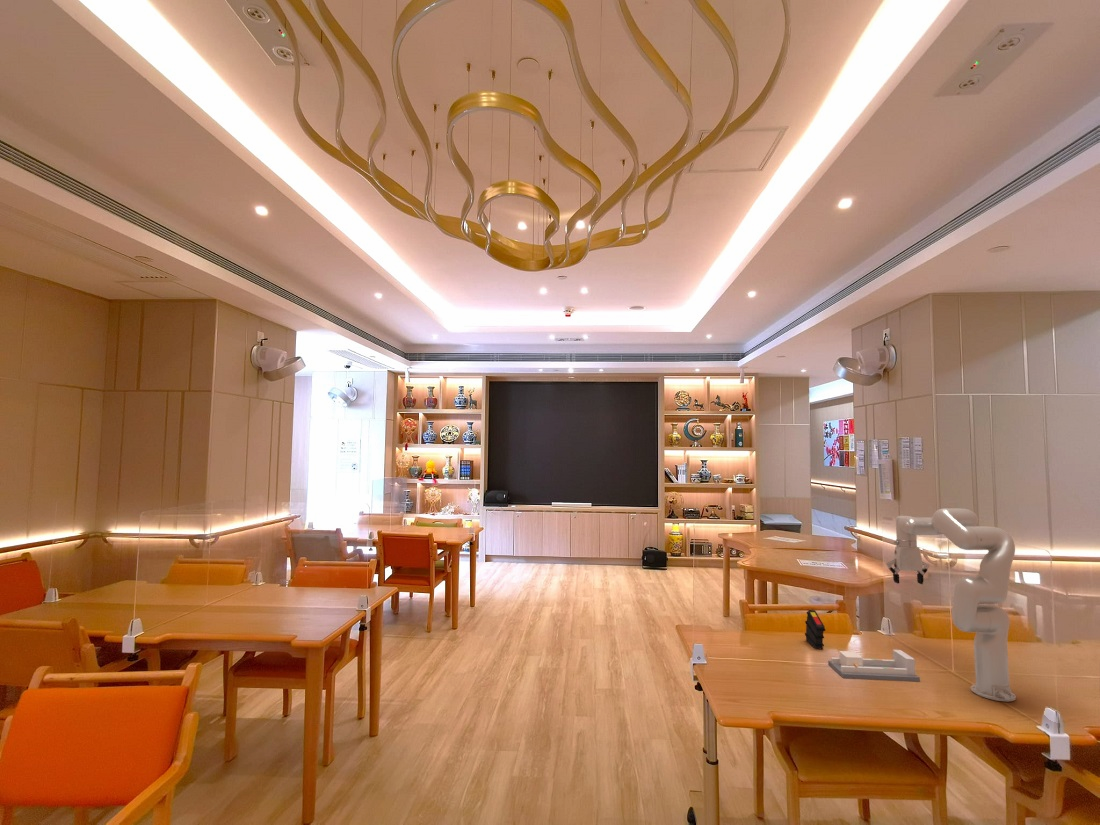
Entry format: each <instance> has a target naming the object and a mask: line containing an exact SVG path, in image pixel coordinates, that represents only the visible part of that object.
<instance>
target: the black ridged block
mask: <svg viewBox="0 0 1100 825" xmlns="http://www.w3.org/2000/svg"><path fill="white" fill-rule="evenodd" d="M806 615H807V616H806V620H805V621H804V624H805V625H806V628H805V632H804V636H805V641H806V642H807V643H808V644H809V645H810V646H812V647H813V648H814V649H816V650H823V649H824V647H825V644H824V643H823V642H824V641H823V640H824V639H825V637H824V632H826V629H825V625H824V623H823V621H822V620H821V618H820V616H819V614H818V613H817V611H816V610H815V609H808V610H807V611H806Z"/></svg>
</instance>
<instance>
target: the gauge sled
mask: <svg viewBox="0 0 1100 825" xmlns="http://www.w3.org/2000/svg"><path fill="white" fill-rule="evenodd" d="M838 651H839V652H838V653H839V654H838V655H839V657H838V658H839V661H840V664H841V665H842V666H856V667H858V666H860V667H863V659H864V658H863V657H862V656H861V655H860V654H858V653H857V652H856V651H848V650H846V651H845V650H838Z"/></svg>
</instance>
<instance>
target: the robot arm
mask: <svg viewBox="0 0 1100 825" xmlns="http://www.w3.org/2000/svg"><path fill="white" fill-rule="evenodd" d="M978 523H979V518H978V515H977V514H976V513H975V512H974V511H972V510H971V509H968V508H959V507H958V508H956V507H955V508H951V507H950V508H949V507H948V508H945V507H944V508H940V509H937V510H936V511H934V513H933V515H932V516H931V517H926V516H925V517H923V516H921V517H920V516H919V517H914V516H910V515H897V516H896V517H895V534H896V540H893V544H894V545H896V546H894V551H893V552H894V553H893V559H891V560H890V561H887V562H886V563H885V565H886V566H887V568H888V570H889V571H890V572H891V573H892V578H893V582H894V583H895V584H900V574H899V573H900V571H905V572H906V571H907V572H910V571H911V572H917V574H916V579H917V580H916V581H917V584H920V585H923V584H924V575H926V574H925V573H927V572H928V570H929V568H930V564H928V563H926V562H924V561H923V560H922V559H923V558H922V553H921V549H920V547H918V541H917V536H938V535H944V536H945V537H946V538H947V539H948V540H949V541H950V542H951V543H953V545H955V546H956V547H957V548H959V549H961V550H964V551H988V552H987V553H986V554H985V555H984V557H983V558H982V559H981V561H980V564H979V571H978V574H977V575H976V576H975V575H973V576H972V575H971V576H969V575H968V576H963V577H960V578H959V579H958V580H956V583H955V585H954V589H953V596H952V608H951V618H952V622H953V624H954V626H955V627H956V628H957V629H958V630H959V631H961V632H965V633H976V634H975V635H974V639H973V650H974V651H973V652H974V673H975V684H974V683H973V684H972V685H970V690H971V692H973V693H974V694H975V695H977V696H979V697H982V698H985V699H989V700H992V701H998V702H1006V703H1009V702H1014V701H1016V699H1017V698H1016V697H1017V696H1016V694H1015V693H1013V692H1012V691H1011V690H1012V689H1011V688H1012V687H1010V673H1009V672H1010V671H1009V657H1008V654H1009V652H1008V651H1009V650H1008V636H1009V630H1010V629H1009V628H1010V617H1009V615H1008V613H1007V611H1006V610H1004V608H1002V607H1000V606H997V605H996V604H1002V603H1004V602H1005V601H1006V600H1007V597H1008V594H1009V585H1010V584H1009V583H1010V574H1011V569H1012V565H1013V561H1014V558H1015V554H1016V545H1015V541H1014V539H1013V537H1012V536H1011V534H1010V533H1009V532H1007V531H1006V530H1005V529H1002V528H1001V527H997V526H985V525H984V526H983V525H981V526H979V525H978ZM977 525H978V526H977Z"/></svg>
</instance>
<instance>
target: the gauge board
mask: <svg viewBox="0 0 1100 825" xmlns="http://www.w3.org/2000/svg"><path fill="white" fill-rule="evenodd" d="M892 658H893V659H882V658H863V667H860V666H858V667H856V666H842V665H841V664H840V661H839V657H832V656H831V660H827V663H828V664H827V665H828V666H830V667H831V668H832V669H833V670H834V671H835V672H836V673H837V674H838V675H839V676H841V678H842V679H850V680H851V679H855V680H856V679H857V680H875V681H876V680H879V681H896V682H897V681H899V682H903V681H904V682H921V678H920V676H919V675H917V674H916V659H915V658H914V657H912V656H911V655H909V654H908V653H906V652H904V651H903V650H901V649H892Z"/></svg>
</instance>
